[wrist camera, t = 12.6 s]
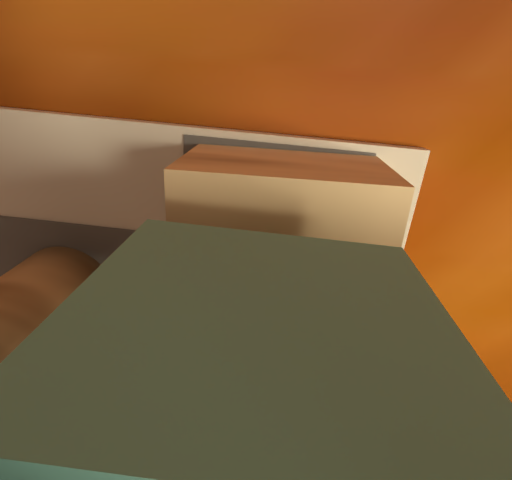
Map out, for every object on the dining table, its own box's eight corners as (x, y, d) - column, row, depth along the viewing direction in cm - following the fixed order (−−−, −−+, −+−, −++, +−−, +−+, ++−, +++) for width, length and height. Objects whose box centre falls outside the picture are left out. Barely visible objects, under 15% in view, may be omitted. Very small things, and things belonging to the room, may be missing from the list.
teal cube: (352, 431, 9) (419, 784, 5) (152, 405, 9) (22, 720, 5) (402, 247, 7) (608, 539, 3) (147, 219, 7) (-87, 447, 3)
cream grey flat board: (365, 371, 17) (368, 382, 16) (22, 330, 17) (11, 340, 17) (423, 147, 13) (431, 151, 12) (-24, 104, 13) (-40, 105, 13)
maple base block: (348, 307, 15) (369, 382, 11) (199, 294, 15) (172, 363, 11) (376, 156, 12) (415, 187, 9) (199, 143, 13) (164, 169, 9)
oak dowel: (119, 335, 16) (34, 466, 11) (29, 324, 16) (-102, 448, 11) (114, 252, 15) (11, 355, 9) (14, 241, 15) (-148, 336, 9)
